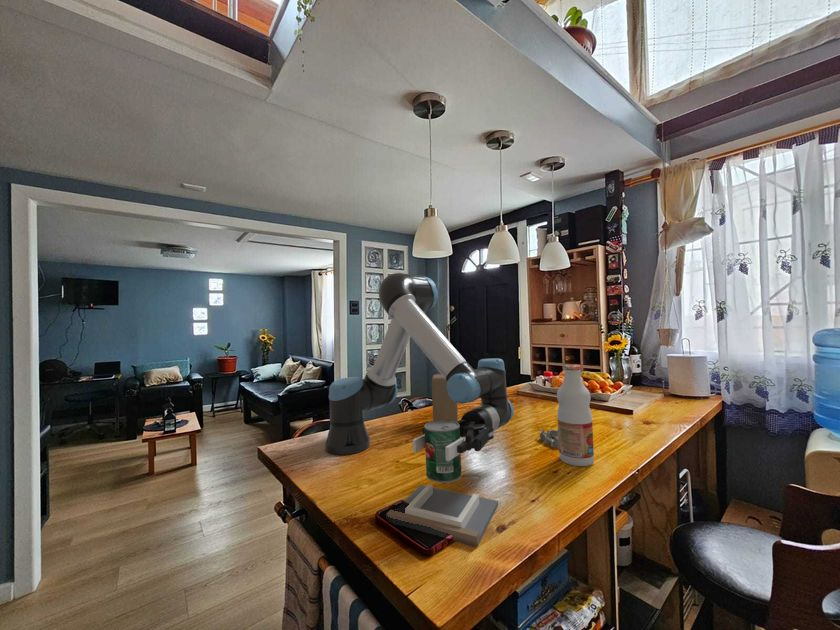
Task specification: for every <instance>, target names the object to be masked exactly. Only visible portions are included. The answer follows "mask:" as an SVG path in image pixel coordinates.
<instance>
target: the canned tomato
mask: <svg viewBox="0 0 840 630" xmlns="http://www.w3.org/2000/svg"><path fill="white" fill-rule="evenodd" d="M459 427H460V425H459V424H458V423H457V422H454V421H448V420H438V421H433V420H431V421H429V422H426V423H425V424H424V425H423V429H424V428H425V448H424V450H425V451H424V452H425V468H426V469H425V470H426V471H425V475H426V478H427V479H428V480H430V482H431V481H432V482H434V483H438V484H440V483H441V484H447V483H453V482H456V481H458V480H459V479H461V478H462V475H463V474H462V457H461V456H462V455H461V454H462V453H461V454H459V455H458V456H456V457H454V458H453V459H451V460H450V461H447V460H446V453H445V447H446V446H448V445H450V444H451V443H453V442H455V441H456V440H458V439H460V438H461V437H460V429H459Z"/></svg>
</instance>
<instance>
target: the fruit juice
mask: <svg viewBox="0 0 840 630" xmlns="http://www.w3.org/2000/svg"><path fill="white" fill-rule="evenodd" d="M562 369H563V372H564V377H563V381H562V384H561V385H560V386H559V388H557V393H556V399H557V401H558V407H557V416H556V417H557V419H556V420H557V430H558V440H559V449H558V454H559V455H558V456H559V459H560V461H562V462H563V463H565V464H567V465H570V466H573V467H588V466H591V465H593V464H594V462H595V461H594V460H595V453H594V451H595V450H594V449H595V448H594V432H593V415H592V413H593V412H592V411H591V408H590V403H591V392H590V390H589V389H588V388H587V387H586V386H585V384H584V382H583V380H582V375H581V372H582V366H581V365H580V364H564V365H563V367H562Z"/></svg>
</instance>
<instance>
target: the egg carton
mask: <svg viewBox="0 0 840 630" xmlns="http://www.w3.org/2000/svg"><path fill="white" fill-rule="evenodd" d="M537 429H538V430H539V431H541V432H540V434H539V440H540V442H544V444H546V445H550V444H551V445H550V447H551V448H552V447H554V448H553V449H557V448H559V440H558V429H551V430H547V431H546V432H545V431H544V429H541V428H540V427H538V428H537ZM553 437H554V438H553Z"/></svg>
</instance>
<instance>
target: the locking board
mask: <svg viewBox="0 0 840 630" xmlns="http://www.w3.org/2000/svg"><path fill="white" fill-rule="evenodd" d="M404 501H405V502H407V503H409V505H408V506H407V507H406V508H405V513H402V512H398V511H394V510H395V509H394V510H393V509H390V510H389V511H387V512H386V517H387V516H388V517H390V518H393V519H398V520H401V521H405V522H409V523H413V524H419V525H423V526H427V527H431V528H433V529H435V530H438V531H441V532H444V533H448V534H451V535H452V536H453V541H452V542H455V543H459V544H464V545H467V546H471V547H474V548H478V547H479V544H480V543H481V540H482V539H483V536H484V534H485V532H486V531H487V528H488V527H489V524H490V522H491V521H492V519H493V517H494V514H495V513H496V511H497V508H498V507H499V500H496V499H491V498H486V497H482V496H480V494H477V493H473V494H471V495H470V494H468V493H467V494H466V493H462V492H456V491H452V490H447V489H442V488H437V487H434V486H433V485H432V484H427V485H422V484H420V485H419V486H417V488H416V489H414V491H413V492H412V493H411V494H410V495H409V496H407V498H406V499H404Z"/></svg>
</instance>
